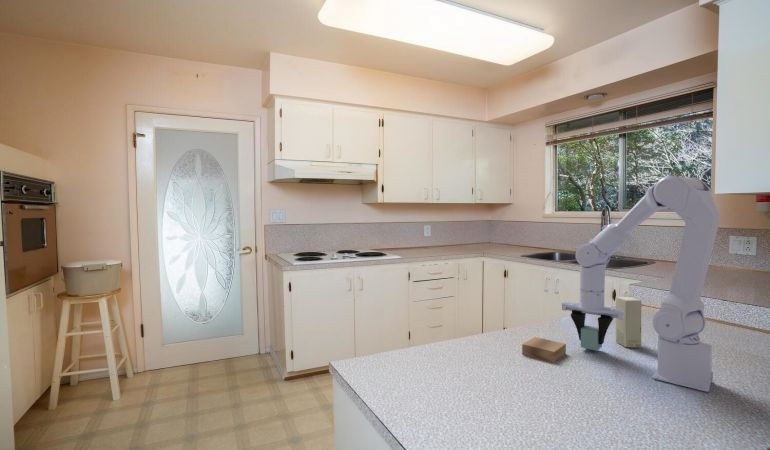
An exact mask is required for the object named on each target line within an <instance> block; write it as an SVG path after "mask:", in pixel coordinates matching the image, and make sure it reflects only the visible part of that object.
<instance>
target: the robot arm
mask: <svg viewBox="0 0 770 450" xmlns="http://www.w3.org/2000/svg"><path fill="white" fill-rule="evenodd" d="M712 192H713V191H712V188H711V187H709V185H707V184H706V183H705V182H704V181H702V180H701V179H700V178H698V177H683V176H676V175H667V176H663V177H662V178H660V179H659V180H658V181H657V182H656V183H655V184H654V185H652V186H650V187H649V188H648V189H647V191H646V192H645V194H644V195H643V197H641V199H639V201H638V202H636V204H634V206H633V207H632V208H631V209H630V210H629V211H628V212H627V213H625V215H624V216H623V217H622V218H621V219H620V220H619V221H618V222H617V223H609V224H604V225H603V226H602V227H601V228H600V229H601V231H600V232H599V233H598V234H597V235H595V237H594V238H590V239H588V243H585V244H584V243H583V244H581V245H579V247H578V248H577V249H576V251H575V260H576V262H577V263H578V265H579V303H578V302H577V303H576V302H566V301H563V302H561V311H569V312H571V313H570V318H571V319H572V321H573V323H574V326H575V329H576V331H577V335H578V340H579V341H581V328H582V327H584V326H585V325H586V324H585V323H586V322H585V321H586V315H594V316H599V317H598V318H597V327H598V328H599V338H598V342H599V344H600V345H602V346H603V344H604V342H605V337H606V335H607V331H608V329H609V327H610V326H611V323H612V322H613V320H614V319H616V318H618V319H620V320H623V319H624V311H622V310H617V309H616V308H612V307H607V306H605V290H606V288H605V283H606V280H605V277H606V276H605V275H606V269H607V268H606V267H607V264H608V263H609V262H610V260H611V256H612V255H613V254H614V253H616V252H617V251H618V250H619V249H621V247H623V246H624V245H625V244H627V242H629V240H630V233H631V232H632V231H634V230H635V229H636V228H637V227H638V226H640V225H641V224H642V223H644V222H645V221H646V220H648V219H649V218H650V217H652V216H653V215H654V214H655V213H656V212H659V211H662V210H668V209H670V210H672V211H674V213H676V215H677V216H679V217H680V218H681V220H683V222H685V225H684V229H683V233H682V238H681V242H680V246H679V250H678V255H677V259H676V263H675V268H674V270H673V271H674V272H673V276H672V280H671V285H670V289H669V293H668V294H667V295H666V297H665V298H664V299H663V301H662V302H661V304H660V305H661V306H660V308H659V310H658V311H657V312H656V313H655V314H654V315H653V318H652V327H653V328H654V331H655V332H656V334H658V338H657V339H658V340H657V367H656V369H655V371H654V373H653V374H652V379H653V380H658V381H662V382H666V383H669V384H673V385H677V386H682V387H686V388H689V389H694V390H699V391H702V392H705V393H708V392H710V389H711V385H712V384H711V383H712V382H713V381H714V372H713V369H712V368H713V345H712V344H709V343H704V342H702V341H701V337H700V333H702V332H703V331H704V330H705V328H706V324H707V323H706V318H705V316H704V309H705V304H704V302H703V301H702V299H701V298H702V293H703V290H704V289H703V288H704V286H705V282H706V277H707V272H708V269H709V264H710V262H711V256H712V253H713V249H714V245H715V241H716V238H717V237H716V236H717V232H718V229H719V225H720V220H721V215H720V213H719V210H718V207H717V205H716V202H715V201H714V198H713V196H712V194H713V193H712Z"/></svg>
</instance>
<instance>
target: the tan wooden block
mask: <svg viewBox="0 0 770 450" xmlns="http://www.w3.org/2000/svg"><path fill="white" fill-rule="evenodd" d="M521 345H522V347H521V354H522V355H524V356H527V357H531V358H536V359H538V360H542V361H546V362H551V363H555V362H558V360H560V359H561V358H562V357H564V356H565V355H566V354H567V352H566V351H567V348H566V347H567V343H563V342H559V341H555V340H551V339H546V338H542V337H537V336H534V337H533V338H531V339H529V340H527V341H525V342H523V343H522V344H521Z"/></svg>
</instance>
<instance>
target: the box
mask: <svg viewBox="0 0 770 450" xmlns="http://www.w3.org/2000/svg"><path fill="white" fill-rule="evenodd" d="M615 309H617V310H622V311H624V319H623V320H620V319H618V318H615V343H617V344H619V345H621V346H623V347H625V348H642V300H641V299H638V298H636V297H635V298H634V297H631V296H616V297H615Z"/></svg>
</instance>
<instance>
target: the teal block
mask: <svg viewBox="0 0 770 450" xmlns="http://www.w3.org/2000/svg"><path fill="white" fill-rule="evenodd" d="M598 338H599V326H592V325H587V324H585V325H584V327H582V328H581V340H580V348H582V349H588V350H592V351H596V352H598V351H599V350H600V349H601V348H602V347H603V344H602V345H600V344H599V342H598Z"/></svg>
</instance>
